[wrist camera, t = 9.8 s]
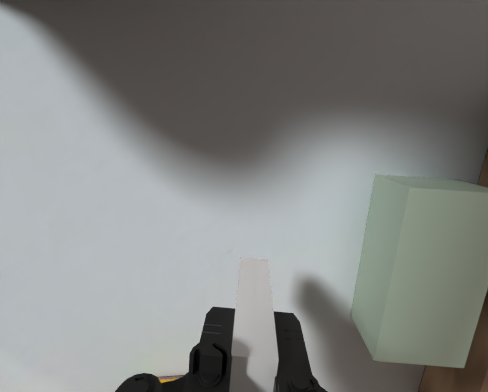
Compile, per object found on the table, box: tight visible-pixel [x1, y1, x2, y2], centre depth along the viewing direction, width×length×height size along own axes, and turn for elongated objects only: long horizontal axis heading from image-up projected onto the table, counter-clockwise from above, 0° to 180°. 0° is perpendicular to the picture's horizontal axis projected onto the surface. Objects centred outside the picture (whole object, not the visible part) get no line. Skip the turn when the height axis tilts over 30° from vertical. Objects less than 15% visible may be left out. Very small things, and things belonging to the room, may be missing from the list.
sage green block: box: [351, 175, 488, 368], centre depth 20 cm, size 12×6×5 cm, turn 177°
